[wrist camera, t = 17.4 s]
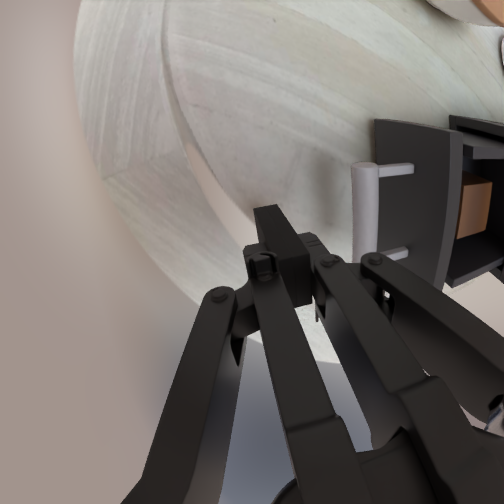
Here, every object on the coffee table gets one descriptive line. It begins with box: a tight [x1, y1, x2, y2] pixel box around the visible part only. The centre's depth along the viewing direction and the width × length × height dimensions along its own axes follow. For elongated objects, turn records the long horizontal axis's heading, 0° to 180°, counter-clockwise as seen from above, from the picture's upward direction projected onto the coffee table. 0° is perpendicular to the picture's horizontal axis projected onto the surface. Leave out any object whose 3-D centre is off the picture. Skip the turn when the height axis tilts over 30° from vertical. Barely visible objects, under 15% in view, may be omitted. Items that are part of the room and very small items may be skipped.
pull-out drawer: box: [351, 119, 504, 292], centre depth 16 cm, size 18×12×8 cm, turn 99°
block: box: [455, 170, 492, 239], centre depth 17 cm, size 4×4×5 cm
